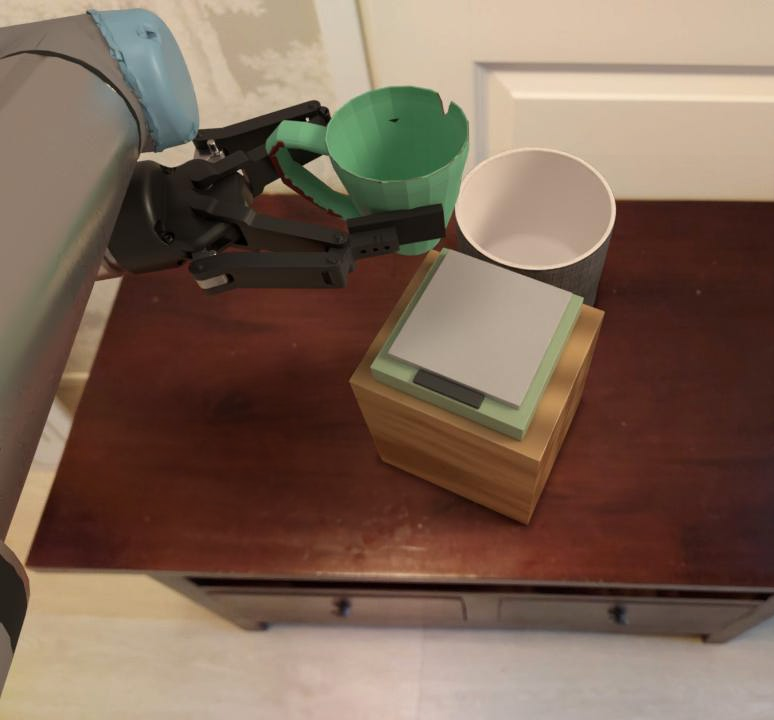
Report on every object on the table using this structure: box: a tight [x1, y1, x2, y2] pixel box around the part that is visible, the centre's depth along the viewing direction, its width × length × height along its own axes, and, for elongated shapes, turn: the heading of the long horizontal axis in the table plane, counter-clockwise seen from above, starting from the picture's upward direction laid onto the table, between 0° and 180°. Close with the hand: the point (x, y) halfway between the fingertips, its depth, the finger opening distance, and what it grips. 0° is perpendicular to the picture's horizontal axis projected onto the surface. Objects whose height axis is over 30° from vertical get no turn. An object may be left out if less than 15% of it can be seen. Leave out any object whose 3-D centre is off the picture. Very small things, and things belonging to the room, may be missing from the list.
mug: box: [266, 85, 470, 256], centre depth 49 cm, size 15×10×10 cm
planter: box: [454, 146, 617, 308], centre depth 79 cm, size 18×18×16 cm
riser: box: [348, 248, 606, 526], centre depth 67 cm, size 16×18×20 cm
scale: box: [370, 247, 584, 441], centre depth 57 cm, size 14×14×3 cm
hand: (432, 171), depth 48 cm, fingers closed on mug, 9 cm apart
